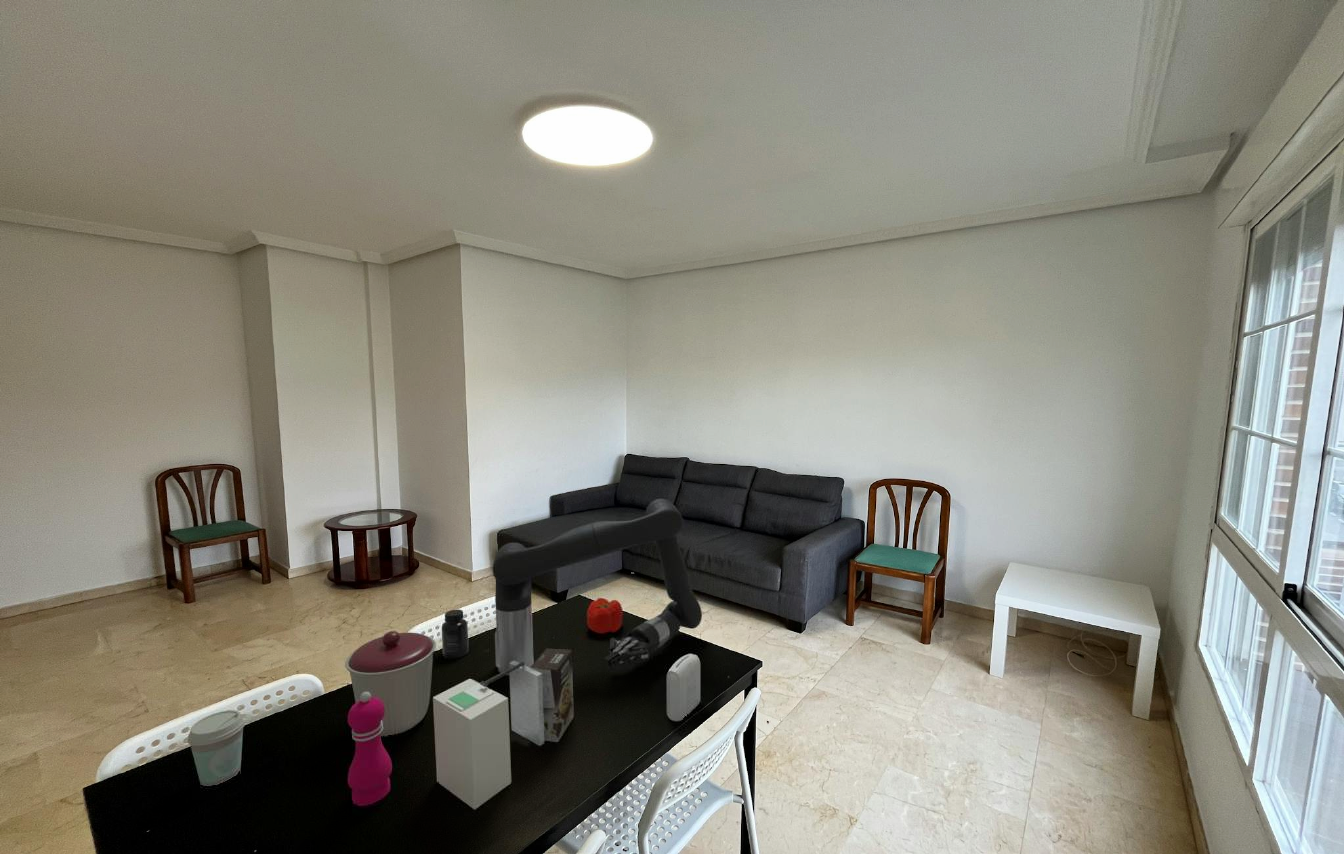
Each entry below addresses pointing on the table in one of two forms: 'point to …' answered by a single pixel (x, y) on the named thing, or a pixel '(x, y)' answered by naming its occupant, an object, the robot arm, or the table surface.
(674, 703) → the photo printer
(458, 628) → the supplement bottle
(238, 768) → the coffee cup
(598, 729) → the table surface
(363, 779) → the pepper mill
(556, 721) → the coffee box
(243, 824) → the table surface
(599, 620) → the red bell pepper
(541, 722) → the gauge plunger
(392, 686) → the canister
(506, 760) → the gauge housing
